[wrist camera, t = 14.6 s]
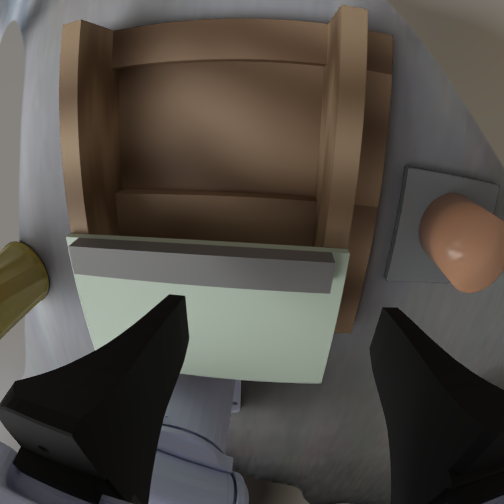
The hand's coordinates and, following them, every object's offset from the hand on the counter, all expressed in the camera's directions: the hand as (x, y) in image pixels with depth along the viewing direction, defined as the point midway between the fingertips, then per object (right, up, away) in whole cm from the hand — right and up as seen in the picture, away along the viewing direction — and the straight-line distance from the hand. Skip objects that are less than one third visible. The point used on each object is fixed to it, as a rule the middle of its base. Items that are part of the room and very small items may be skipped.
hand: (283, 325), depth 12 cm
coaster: (+12, +4, +9) cm, 16 cm away
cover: (-4, -1, +6) cm, 7 cm away
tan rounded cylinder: (+12, +4, +8) cm, 15 cm away
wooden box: (-3, +7, +8) cm, 12 cm away
